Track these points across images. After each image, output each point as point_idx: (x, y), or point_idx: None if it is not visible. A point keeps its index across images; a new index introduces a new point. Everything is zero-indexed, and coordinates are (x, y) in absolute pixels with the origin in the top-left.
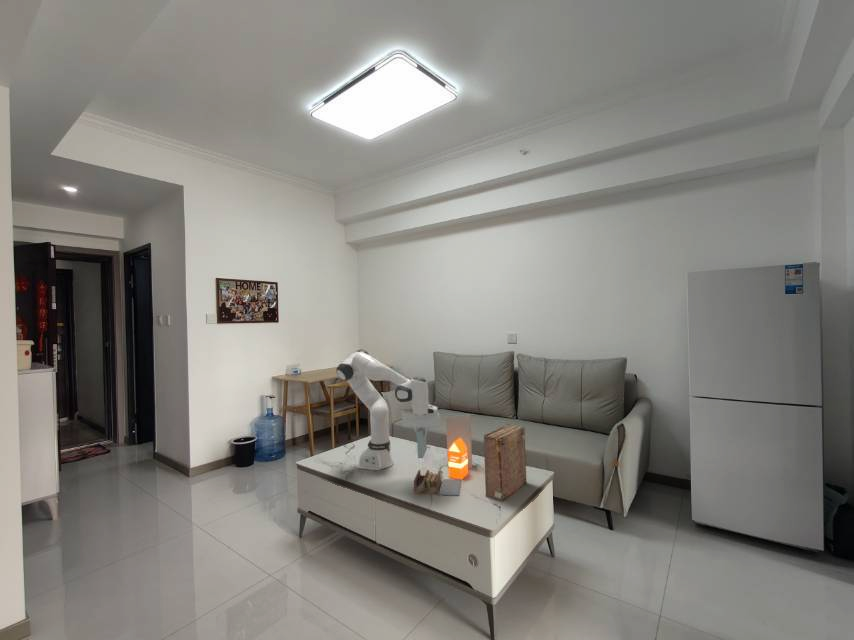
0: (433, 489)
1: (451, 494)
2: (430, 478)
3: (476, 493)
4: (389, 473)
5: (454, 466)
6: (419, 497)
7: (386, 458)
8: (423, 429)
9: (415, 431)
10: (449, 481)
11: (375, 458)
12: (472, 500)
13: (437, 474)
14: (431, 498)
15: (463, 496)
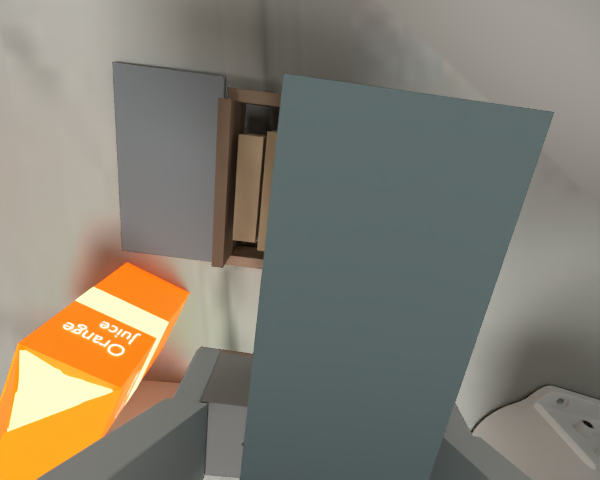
0: (250, 91)
1: (154, 71)
2: (265, 157)
3: (28, 94)
4: (488, 351)
5: (130, 308)
6: (332, 57)
7: (523, 454)
8: None
9: (505, 458)
10: (179, 232)
11: (592, 450)
12: (36, 4)
13: (224, 211)
14: (264, 40)
15: (91, 59)
